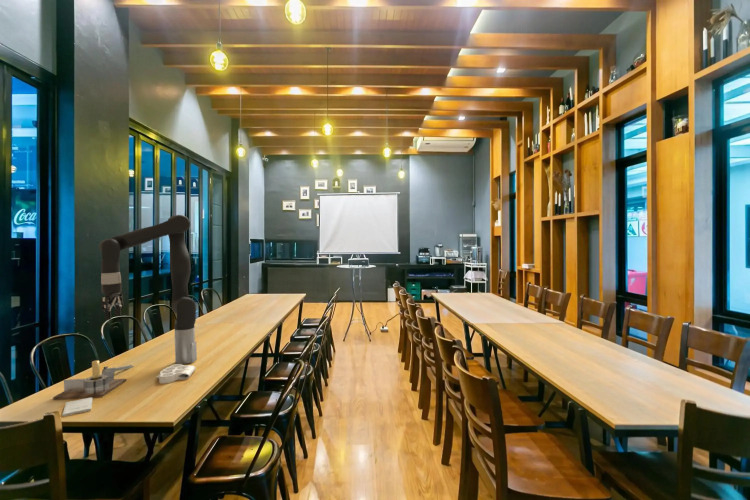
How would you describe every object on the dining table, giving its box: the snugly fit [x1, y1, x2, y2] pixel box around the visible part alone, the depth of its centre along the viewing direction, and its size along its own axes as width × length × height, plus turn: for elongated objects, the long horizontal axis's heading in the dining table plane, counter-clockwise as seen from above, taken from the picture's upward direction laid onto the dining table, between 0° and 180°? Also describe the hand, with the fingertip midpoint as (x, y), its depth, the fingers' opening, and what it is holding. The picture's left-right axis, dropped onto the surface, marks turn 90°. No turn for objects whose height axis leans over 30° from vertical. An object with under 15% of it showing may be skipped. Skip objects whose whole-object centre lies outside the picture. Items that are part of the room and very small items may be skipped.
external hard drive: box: [61, 397, 94, 417], centre depth 143 cm, size 2×8×12 cm
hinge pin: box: [91, 359, 101, 380], centre depth 157 cm, size 2×2×12 cm
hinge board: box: [52, 378, 127, 401], centre depth 161 cm, size 18×18×1 cm
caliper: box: [101, 364, 134, 375], centre depth 181 cm, size 20×1×6 cm, turn 179°
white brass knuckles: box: [155, 363, 196, 384], centre depth 176 cm, size 3×18×15 cm
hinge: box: [63, 369, 115, 394], centre depth 160 cm, size 16×16×5 cm
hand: (113, 317), depth 176 cm, fingers open, 8 cm apart
